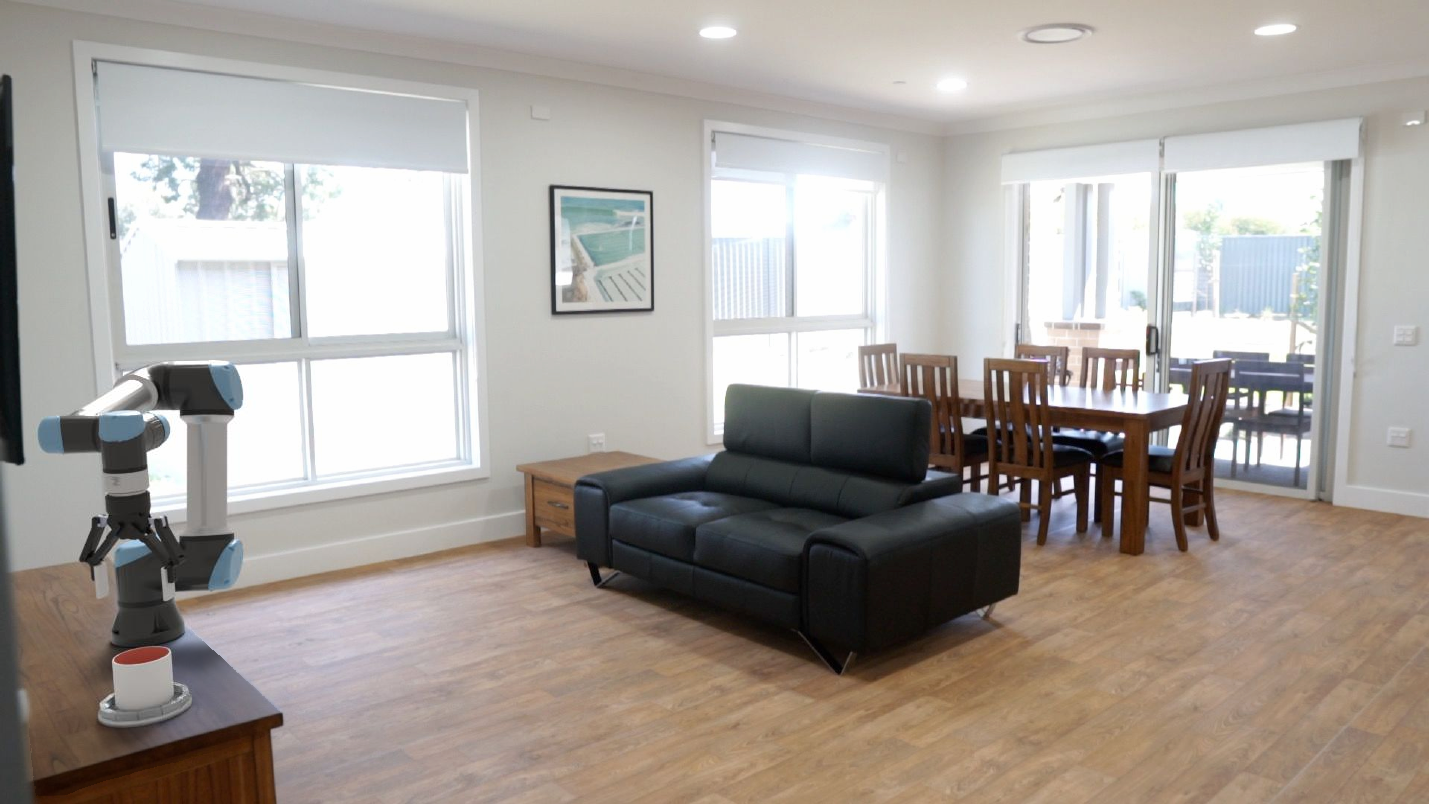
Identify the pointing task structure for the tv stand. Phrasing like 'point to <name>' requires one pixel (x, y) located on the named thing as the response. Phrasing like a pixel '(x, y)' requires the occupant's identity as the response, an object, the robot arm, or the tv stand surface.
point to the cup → (143, 678)
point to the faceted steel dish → (120, 719)
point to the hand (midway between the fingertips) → (136, 597)
